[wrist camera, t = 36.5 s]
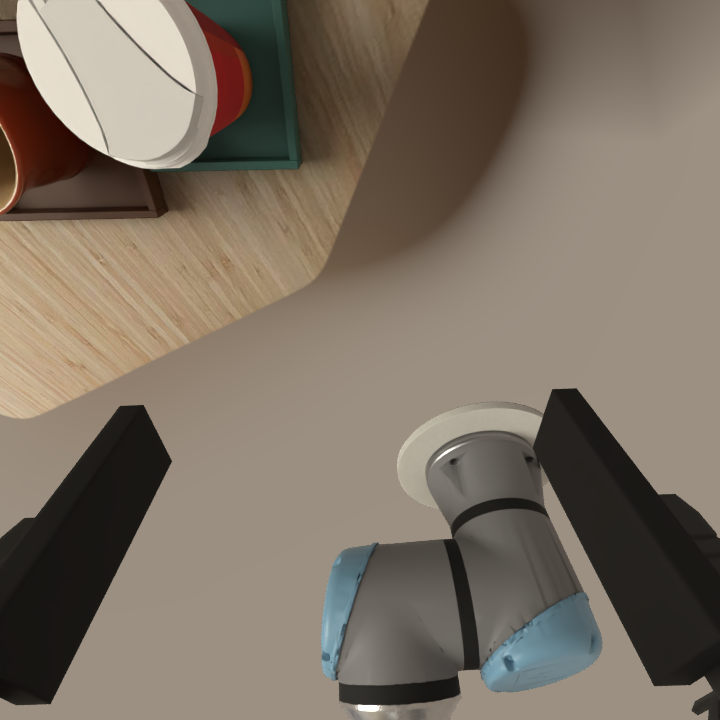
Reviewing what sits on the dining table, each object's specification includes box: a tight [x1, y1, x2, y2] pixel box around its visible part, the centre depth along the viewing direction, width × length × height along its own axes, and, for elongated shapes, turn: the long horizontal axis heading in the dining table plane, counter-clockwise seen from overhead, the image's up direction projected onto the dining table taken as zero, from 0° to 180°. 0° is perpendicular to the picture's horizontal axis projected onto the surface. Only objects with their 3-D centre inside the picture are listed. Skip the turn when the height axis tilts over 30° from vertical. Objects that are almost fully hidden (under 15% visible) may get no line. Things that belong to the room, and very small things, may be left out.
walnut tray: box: [0, 20, 168, 221], centre depth 28 cm, size 12×14×2 cm
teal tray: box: [151, 0, 302, 172], centre depth 26 cm, size 11×11×2 cm
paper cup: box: [17, 0, 253, 169], centre depth 21 cm, size 8×8×14 cm
